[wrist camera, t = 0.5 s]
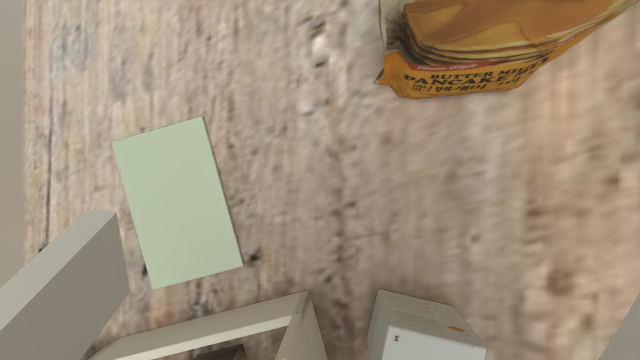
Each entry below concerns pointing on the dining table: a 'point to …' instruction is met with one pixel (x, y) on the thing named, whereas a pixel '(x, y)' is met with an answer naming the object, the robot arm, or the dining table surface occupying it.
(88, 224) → the robot arm
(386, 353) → the small box
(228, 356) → the box
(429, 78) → the pancake mix bag
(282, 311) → the carton
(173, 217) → the sage pad
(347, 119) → the dining table surface
